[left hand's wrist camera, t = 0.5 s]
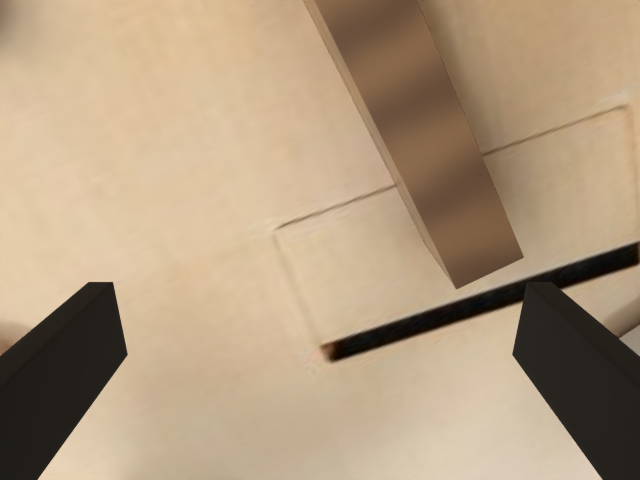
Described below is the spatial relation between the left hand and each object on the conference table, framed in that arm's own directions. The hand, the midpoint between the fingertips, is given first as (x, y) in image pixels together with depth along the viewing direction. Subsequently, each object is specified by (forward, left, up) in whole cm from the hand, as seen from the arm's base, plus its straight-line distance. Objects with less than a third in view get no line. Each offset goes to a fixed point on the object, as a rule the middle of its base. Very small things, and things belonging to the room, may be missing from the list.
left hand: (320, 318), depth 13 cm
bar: (+7, -5, -24) cm, 25 cm away
